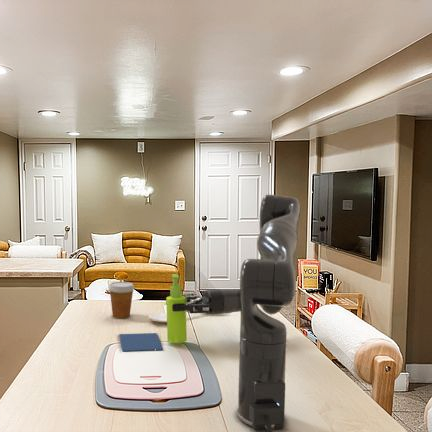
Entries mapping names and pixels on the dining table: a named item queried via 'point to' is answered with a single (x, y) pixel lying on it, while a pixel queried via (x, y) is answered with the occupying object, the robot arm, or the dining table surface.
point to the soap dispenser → (176, 314)
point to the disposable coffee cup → (121, 298)
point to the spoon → (159, 317)
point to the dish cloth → (140, 342)
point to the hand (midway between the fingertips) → (169, 304)
